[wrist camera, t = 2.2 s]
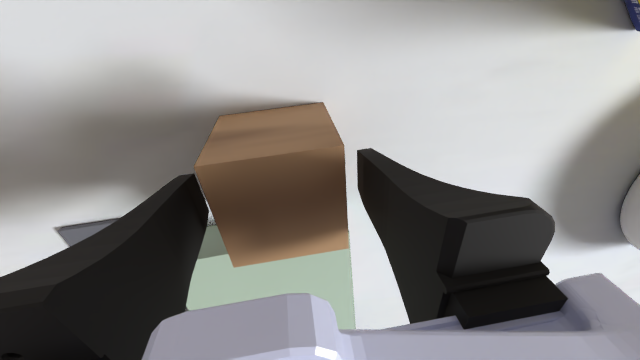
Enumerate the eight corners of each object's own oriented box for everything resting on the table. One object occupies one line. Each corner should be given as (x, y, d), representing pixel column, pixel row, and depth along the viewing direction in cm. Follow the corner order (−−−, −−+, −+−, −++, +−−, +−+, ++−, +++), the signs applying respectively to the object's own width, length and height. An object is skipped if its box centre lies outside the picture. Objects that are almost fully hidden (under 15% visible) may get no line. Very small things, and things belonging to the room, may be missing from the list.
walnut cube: (329, 185, 16) (348, 248, 12) (244, 198, 16) (233, 267, 12) (322, 101, 13) (343, 145, 9) (219, 115, 13) (193, 166, 9)
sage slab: (346, 294, 23) (355, 330, 20) (225, 317, 22) (219, 357, 20) (338, 199, 17) (348, 232, 15) (177, 227, 17) (160, 266, 14)
